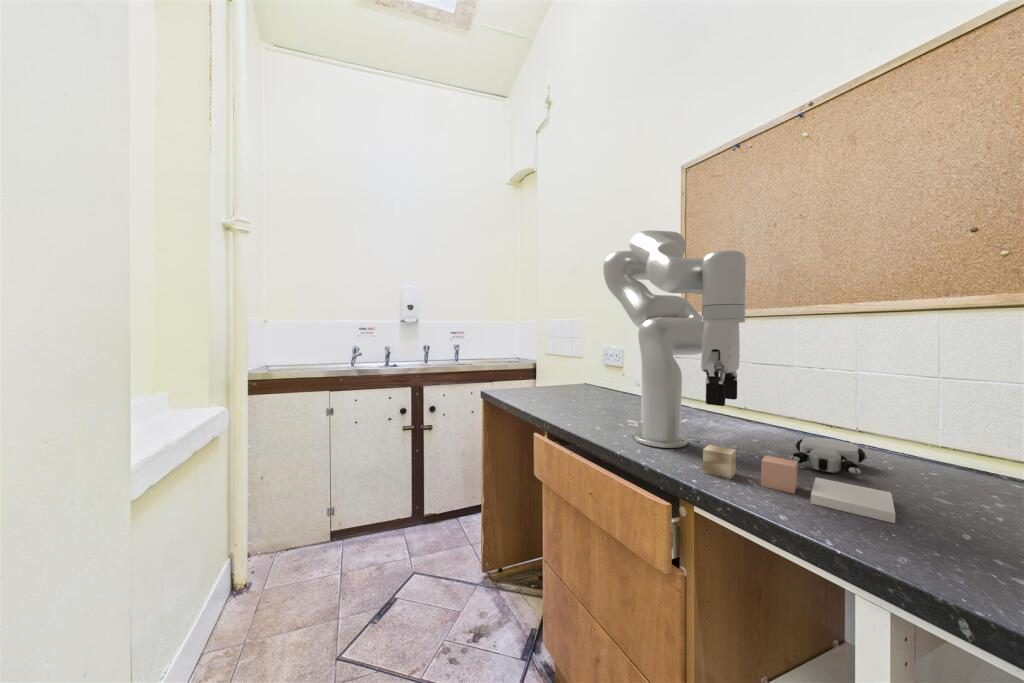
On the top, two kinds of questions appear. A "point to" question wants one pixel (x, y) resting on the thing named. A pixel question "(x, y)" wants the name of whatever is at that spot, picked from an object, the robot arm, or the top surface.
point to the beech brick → (719, 461)
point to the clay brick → (779, 474)
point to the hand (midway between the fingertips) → (722, 401)
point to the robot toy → (829, 454)
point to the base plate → (853, 499)
